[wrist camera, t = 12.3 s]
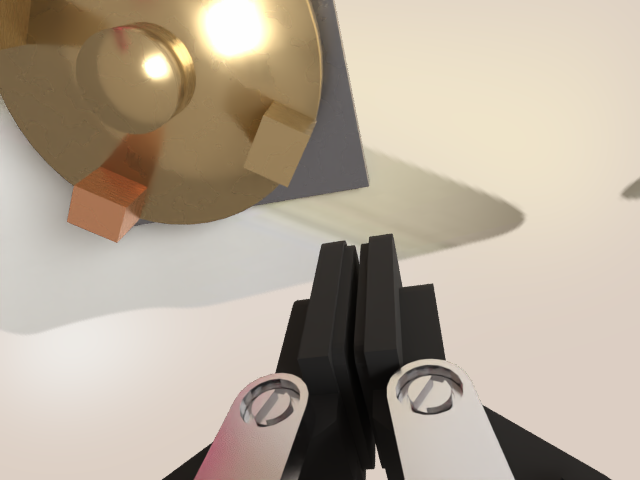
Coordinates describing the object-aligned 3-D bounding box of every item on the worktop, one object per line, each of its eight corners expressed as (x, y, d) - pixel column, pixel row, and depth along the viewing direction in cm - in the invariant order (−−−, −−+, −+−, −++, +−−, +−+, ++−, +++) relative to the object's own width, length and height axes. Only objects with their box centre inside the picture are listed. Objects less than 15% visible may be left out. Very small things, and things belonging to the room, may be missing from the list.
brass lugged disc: (368, 162, 35) (366, 193, 30) (116, 244, 41) (81, 281, 36) (235, -213, 26) (202, -253, 21) (-66, -40, 32) (-145, -40, 27)
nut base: (295, -201, 28) (286, -217, 26) (369, 181, 39) (368, 196, 37) (-46, -86, 33) (-83, -90, 31) (103, 226, 44) (86, 242, 42)
